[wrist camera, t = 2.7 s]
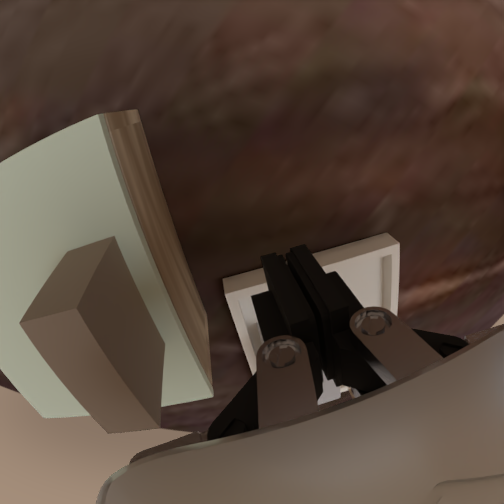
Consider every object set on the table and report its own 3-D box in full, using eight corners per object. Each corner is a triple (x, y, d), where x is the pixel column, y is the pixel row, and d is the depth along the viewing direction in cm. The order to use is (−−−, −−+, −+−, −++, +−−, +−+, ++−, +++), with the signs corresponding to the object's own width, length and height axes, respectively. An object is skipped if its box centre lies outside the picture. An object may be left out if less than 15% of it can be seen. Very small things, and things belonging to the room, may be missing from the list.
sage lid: (103, 113, 11) (35, 126, 6) (212, 388, 18) (221, 471, 13) (-77, 217, 10) (-138, 264, 5) (46, 410, 17) (28, 474, 12)
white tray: (386, 232, 24) (399, 243, 22) (382, 360, 30) (390, 373, 29) (222, 278, 23) (224, 294, 21) (263, 399, 30) (267, 414, 28)
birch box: (137, 109, 17) (105, 113, 11) (207, 315, 24) (212, 384, 18) (-15, 181, 17) (-74, 215, 10) (69, 346, 24) (47, 407, 18)
